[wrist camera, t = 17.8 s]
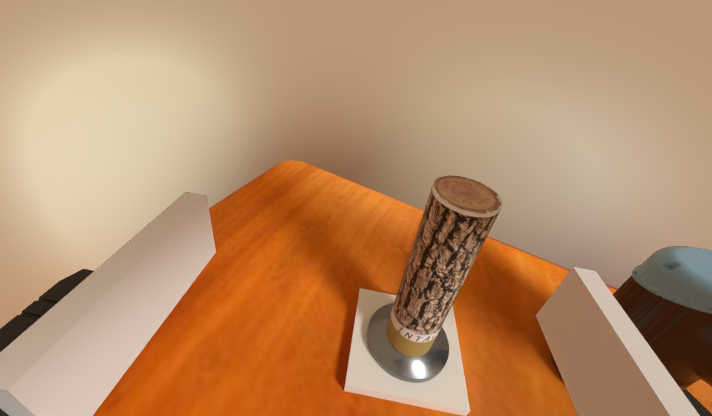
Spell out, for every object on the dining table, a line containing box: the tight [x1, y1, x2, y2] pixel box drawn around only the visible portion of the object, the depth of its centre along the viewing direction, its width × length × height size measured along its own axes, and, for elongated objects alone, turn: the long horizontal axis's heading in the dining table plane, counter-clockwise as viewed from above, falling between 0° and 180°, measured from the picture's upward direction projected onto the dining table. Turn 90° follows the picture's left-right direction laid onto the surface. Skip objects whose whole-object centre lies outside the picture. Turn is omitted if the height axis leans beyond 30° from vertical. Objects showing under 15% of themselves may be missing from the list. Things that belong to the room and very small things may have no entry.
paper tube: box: [386, 176, 502, 357], centre depth 37 cm, size 7×7×25 cm
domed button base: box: [344, 288, 470, 416], centre depth 45 cm, size 16×16×2 cm
